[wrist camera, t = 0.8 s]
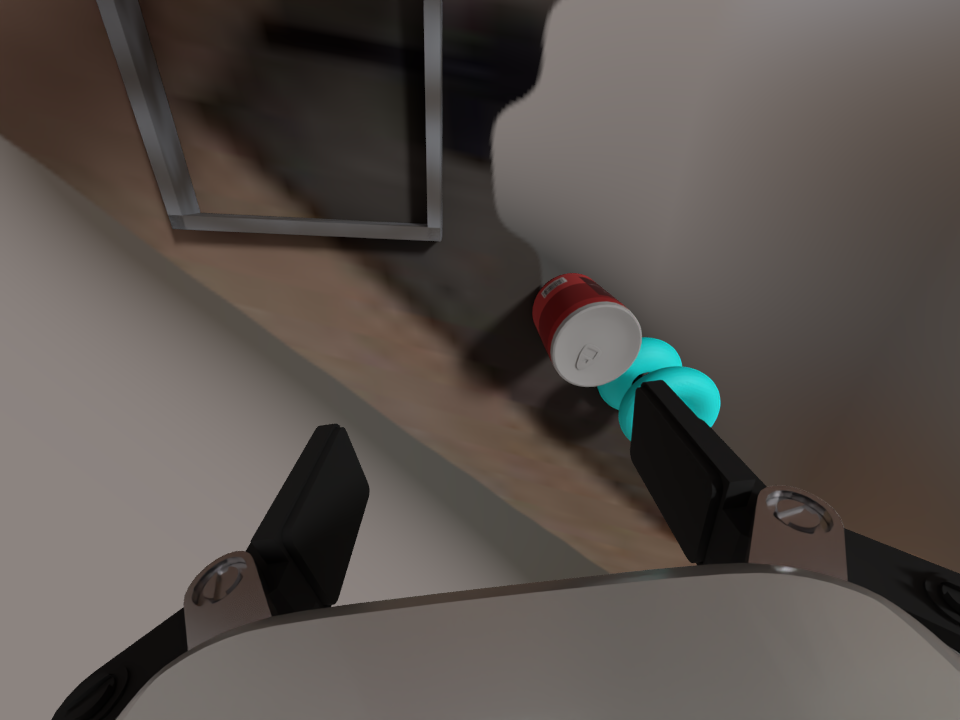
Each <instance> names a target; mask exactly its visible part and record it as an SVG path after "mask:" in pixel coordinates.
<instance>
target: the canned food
mask: <svg viewBox="0 0 960 720" xmlns="http://www.w3.org/2000/svg"><path fill="white" fill-rule="evenodd" d="M532 315H533V321H534V324H535V326H536V329H537V331H538V333H539V335H540V338H541V340H542V342H543V344H544V347H545V349H546V351H547V353H548V356H549V358H550V360H551V362H552V364H553V366H554V368H555V369H556V371H557V372H558V373H559V375H560V376H561V377H562V378H563V379H564V380H566V381H567V382H569V383H571V384H574V385H577V386H582V387H595V386H599V385H603V384H606V383H608V382H611V381H613V380H614V379H616V378H618V377H619V376H621V375H622V374H623V373H624V372H626V371H627V369H628V368H629V367H630V366H631V365H632V364H633V362H634V361H635V359H636V358H637V355H638V353H639V351H640V347H641V343H642V332H641V327H640V324H639V322H638V321H637V319H636V318H635V316H634V315H633V314H632V313H631V312H630V310H629V309H627V308H626V307H625V306H624V305H623V304H622V303H620V302H619V301H618V300H617V299H615V298H614V297H613V296H612V295H610V294H609V293H608V292H607V291H605V290H604V289H603V288H602V287H601V286H599V285H598V284H596V282H594V281H593V280H592V279H590V278H589V277H587V276H585V275H582V274H577V273H569V274H563V275H559V276H557V277H555V278H553V279H551V280H550V281H548V282H547V283H546V284H545V285H544V286H543V287H542V288H541V290H540V291H539V292H538V294H537V296H536V298H535V301H534V305H533V312H532Z"/></svg>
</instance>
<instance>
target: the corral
mask: <svg viewBox="0 0 960 720" xmlns="http://www.w3.org/2000/svg"><path fill="white" fill-rule="evenodd" d="M96 1H97V4H98V7H99V10H100V13H101V16H102V19H103V22H104V25H105V28H106V31H107V34H108V37H109V40H110V43H111V46H112V49H113V52H114V55H115V58H116V61H117V64H118V67H119V70H120V73H121V76H122V79H123V82H124V85H125V88H126V91H127V94H128V97H129V100H130V103H131V106H132V109H133V112H134V115H135V118H136V121H137V124H138V127H139V130H140V133H141V136H142V139H143V142H144V145H145V148H146V151H147V154H148V157H149V160H150V163H151V166H152V169H153V172H154V175H155V177H156V180H157V183H158V186H159V189H160V192H161V195H162V198H163V201H164V204H165V207H166V210H167V213H168V216H169V219H170V222H171V225H172V228H173V229H185V230H207V231H228V232H250V233H271V234H293V235H314V236H336V237H357V238H379V239H401V240H422V241H441V239H442V0H424V51H425V108H426V164H427V220H428V224H417V223H396V222H376V221H356V220H335V219H315V218H294V217H274V216H254V215H233V214H213V213H200V209H199V206H198V203H197V199H196V196H195V192H194V189H193V186H192V182H191V179H190V175H189V172H188V169H187V165H186V162H185V158H184V155H183V152H182V148H181V145H180V142H179V138H178V135H177V131H176V128H175V125H174V121H173V118H172V114H171V111H170V108H169V104H168V101H167V97H166V94H165V91H164V87H163V84H162V80H161V77H160V74H159V70H158V67H157V63H156V60H155V57H154V53H153V50H152V46H151V43H150V40H149V36H148V33H147V30H146V26H145V23H144V19H143V16H142V13H141V9H140V6H139V2H138V0H96Z"/></svg>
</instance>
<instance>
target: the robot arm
mask: <svg viewBox="0 0 960 720" xmlns="http://www.w3.org/2000/svg"><path fill="white" fill-rule="evenodd" d="M630 455H631V459H632V462H633V464H634V466H635V467H636V469H637V471H638V473H639V474H640V476H641V478H642V480H643V482H644V483H645V485H646V487H647V489H648V490H649V492H650V494H651V496H652V497H653V499H654V501H655V503H656V504H657V506H658V508H659V510H660V511H661V513H662V515H663V517H664V519H665V520H666V522H667V524H668V526H669V527H670V529H671V531H672V533H673V534H674V536H675V538H676V540H677V541H678V543H679V545H680V547H681V549H682V550H683V552H684V554H685V556H686V557H687V559H688V560H689V561H690V562H691V563H696V564H697V566H686V567H675V568H664V569H653V570H643V571H634V572H625V573H616V574H607V575H597V576H589V577H580V578H570V579H562V580H552V581H544V582H535V583H526V584H517V585H508V586H500V587H492V588H483V589H474V590H466V591H456V592H448V593H439V594H431V595H424V596H415V597H406V598H399V599H391V600H382V601H373V602H366V603H358V604H349V605H342V606H336V607H331V605H333V604H335V603H336V602H337V600H338V598H339V595H340V591H341V588H342V585H343V581H344V578H345V574H346V571H347V568H348V564H349V561H350V558H351V555H352V551H353V547H354V544H355V541H356V538H357V534H358V531H359V527H360V524H361V521H362V518H363V514H364V511H365V508H366V504H367V501H368V498H369V485H368V482H367V480H366V477H365V475H364V472H363V470H362V468H361V465H360V463H359V460H358V458H357V456H356V453H355V451H354V448H353V446H352V443H351V441H350V439H349V436H348V434H347V432H346V430H345V428H344V427H341V428H340V426H339V425H338V424H329V425H323V426H318V427H317V428H316V430H315V431H314V433H313V435H312V437H311V438H310V440H309V442H308V443H307V445H306V447H305V448H304V450H303V452H302V454H301V455H300V457H299V459H298V460H297V462H296V464H295V466H294V467H293V469H292V471H291V473H290V474H289V476H288V478H287V480H286V481H285V483H284V485H283V486H282V488H281V490H280V491H279V493H278V495H277V497H276V498H275V500H274V502H273V503H272V505H271V507H270V509H269V510H268V512H267V514H266V515H265V517H264V519H263V521H262V522H261V524H260V526H259V527H258V529H257V531H256V533H255V534H254V536H253V538H252V540H251V543H250V545H249V546H248V548H247V550H246V552H245V551H235V552H232V553H228V554H226V555H224V556H222V557H220V558H218V559H216V560H215V561H213V562H212V563H211V564H209V565H208V566H206V567H205V568H204V569H203V570H202V571H201V572H200V573H199V574H198V575H197V576H196V577H195V579H194V580H193V581H192V583H191V584H190V586H189V587H188V590H187V592H186V594H185V597H184V607H183V608H182V609H181V610H179V611H178V612H177V613H175V614H174V615H172V616H171V617H169V618H168V619H167V620H165V621H164V622H163V623H161V624H160V625H158V626H157V627H156V628H154V629H153V630H152V631H150V632H149V633H148V634H146V635H145V636H143V637H142V638H140V639H139V640H138V641H136V642H135V643H134V644H132V645H131V646H129V647H128V648H127V649H126V650H124V651H123V652H121V653H120V654H118V655H117V656H116V657H115V658H113V659H112V660H110V661H109V662H107V663H106V664H105V665H103V666H102V667H100V668H99V669H98V670H96V671H95V672H94V673H93V674H91V675H90V676H89V677H88V678H86V679H85V680H84V681H83V682H81V683H80V684H79V685H78V686H77V687H76V688H75V689H74V691H73V692H72V693H71V694H70V695H69V696H68V697H67V698H66V699H65V701H64V702H63V703H62V705H61V706H60V707H59V709H58V710H57V711H56V712H55V714H54V716H53V718H52V720H960V574H959V573H957V572H954V571H952V570H949V569H946V568H944V567H941V566H939V565H936V564H934V563H931V562H929V561H926V560H924V559H921V558H918V557H916V556H913V555H911V554H908V553H906V552H903V551H901V550H898V549H896V548H893V547H891V546H888V545H885V544H883V543H880V542H878V541H875V540H873V539H870V538H868V537H865V536H863V535H860V534H858V533H855V532H852V531H850V530H847V529H845V528H844V527H843V523H842V520H841V518H840V516H839V515H838V514H837V513H836V511H835V510H834V509H833V508H832V507H831V506H829V505H828V504H827V503H826V502H825V501H823V500H822V499H820V498H818V497H817V496H815V495H813V494H811V493H809V492H806V491H804V490H801V489H798V488H794V487H790V486H782V485H774V486H769V487H766V486H765V485H764V484H763V482H762V481H761V480H760V479H759V478H758V477H757V476H756V475H755V474H754V473H753V472H752V471H751V470H750V469H749V468H748V467H747V465H745V463H744V462H743V461H742V460H741V459H740V458H739V457H738V456H737V455H736V454H735V453H734V452H733V451H732V450H731V449H730V447H729V446H727V444H726V443H725V442H724V441H723V440H722V439H721V438H720V437H719V436H718V435H717V434H716V433H715V432H714V431H713V430H712V428H711V427H710V426H709V425H708V424H707V423H706V422H705V421H703V420H702V419H700V418H698V417H697V416H696V415H695V413H694V412H693V411H692V410H691V409H690V408H689V407H688V406H687V405H686V404H685V403H684V402H683V401H682V400H681V398H680V397H679V396H678V395H677V394H676V393H675V392H674V391H673V390H672V389H671V388H670V387H669V386H668V385H667V384H666V382H664V381H663V380H655V381H648V382H643V383H642V384H641V387H638V388H636V391H635V401H634V412H633V424H632V435H631V447H630Z"/></svg>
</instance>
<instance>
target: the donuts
mask: <svg viewBox="0 0 960 720" xmlns="http://www.w3.org/2000/svg"><path fill="white" fill-rule="evenodd" d="M646 372H650V373H648V374H646V375H644V376H643V377H641V378H640V379H638V380H637V381H636V382H635V383H634V384H633V385H632V382H633V380H634V379H635V378H636V377H637V376H638V375H640V374H642V373H646ZM655 380H663V381H664V382H666V384H667V385H668V386H669V387H670V388H671V389H672V390H673V391H674V392H675V393H676V394H677V395H678V396H679V397H680V398H681V400H682V401H683V402H684V403H685V404H686V405H687V406H688V407H689V408H690V409H691V410H692V411H693V412H694V413H695V415H696V416H697V417H698V418H700V419H702V420H703V421H705V422H706V423H707V424H708V425H709V426H710V427H711V426H712V425H713V424H714V422H715V420H716V419H717V416H718V413H719V410H720V395H719V391H718V389H717V387H716V385H715V384H714V382H713V381H712V380H711V379H710V378H709V377H708V376H706V375H705V374H704V373H702V372H700V371H698V370H695V369H693V368H688V367H682V363H681V359H680V357H679V355H678V354H677V352H676V350H674V348H673V347H671V346H670V345H669V344H668V343H666V342H664V341H662V340H659V339H655V338H648V337H645V338H642V343H641V347H640V351H639V353H638V355H637V358H636V359H635V361H634V362H633V364H632V365H631V366H630V367H629V368H628V369H627V371H626V372H624V373H623V374H622V375H621V376H619V377H618V378H616V379H614V380H613V381H611V382H608V383H606V384H603V385H599V386H597V388H598V391H599V393H600V395H601V397H602V398H603V400H604V401H605V402H606V403H607V404H609V405H610V406H611V407H613V408H615V409H617V410H619V423H620V427H621V429H622V431H623V433H624V434H625V436H626V437H627V438H628V439H629V440H630V441H631V435H632V424H633V412H634V401H635V391H636V388H638V387H641V384H642V383H643V382H648V381H655Z"/></svg>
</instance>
